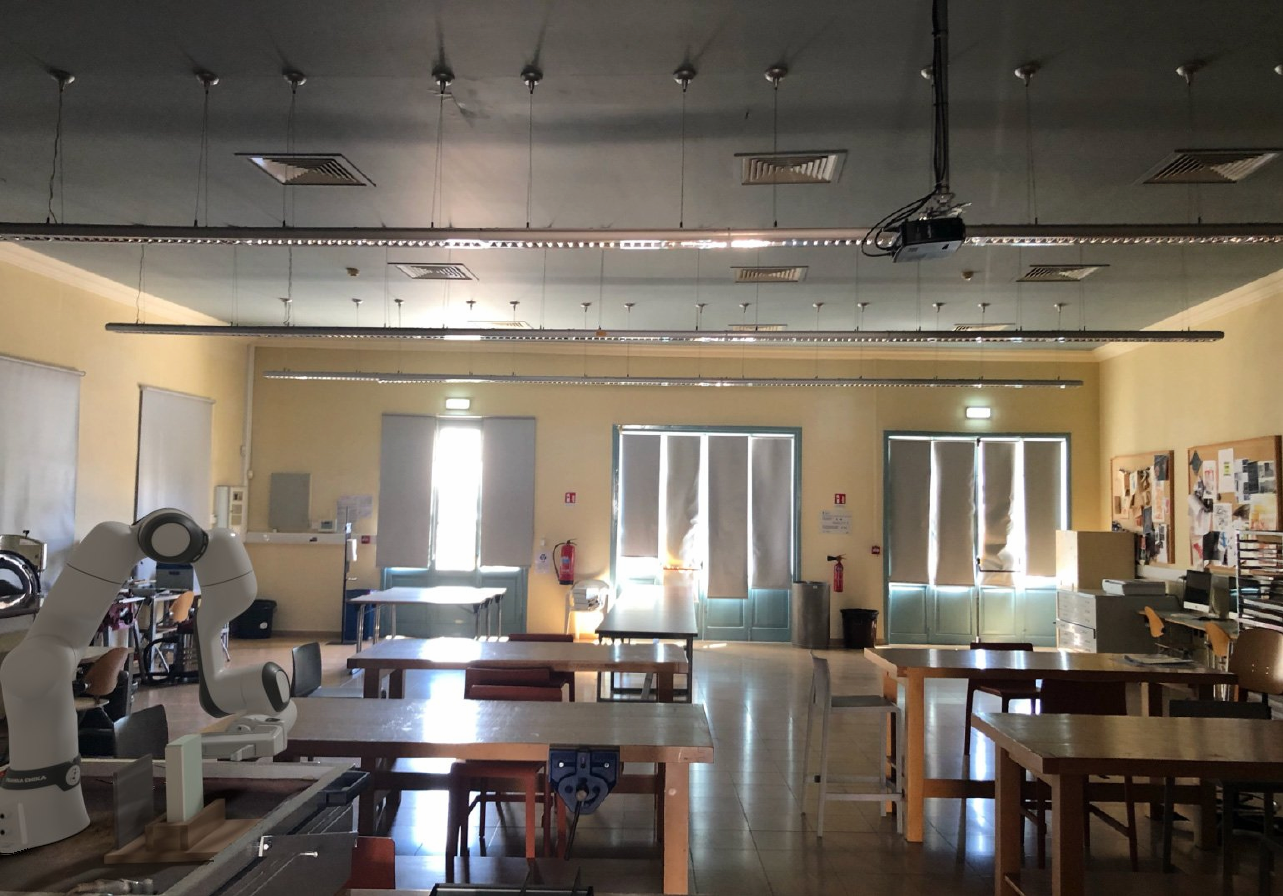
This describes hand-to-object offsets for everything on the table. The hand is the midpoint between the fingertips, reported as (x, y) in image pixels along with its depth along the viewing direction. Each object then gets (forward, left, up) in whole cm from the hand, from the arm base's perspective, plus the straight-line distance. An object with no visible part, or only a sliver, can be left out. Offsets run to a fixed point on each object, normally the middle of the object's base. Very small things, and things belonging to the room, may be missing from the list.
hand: (210, 758), depth 162 cm
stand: (0, -8, -13) cm, 16 cm away
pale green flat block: (0, -8, -12) cm, 14 cm away
